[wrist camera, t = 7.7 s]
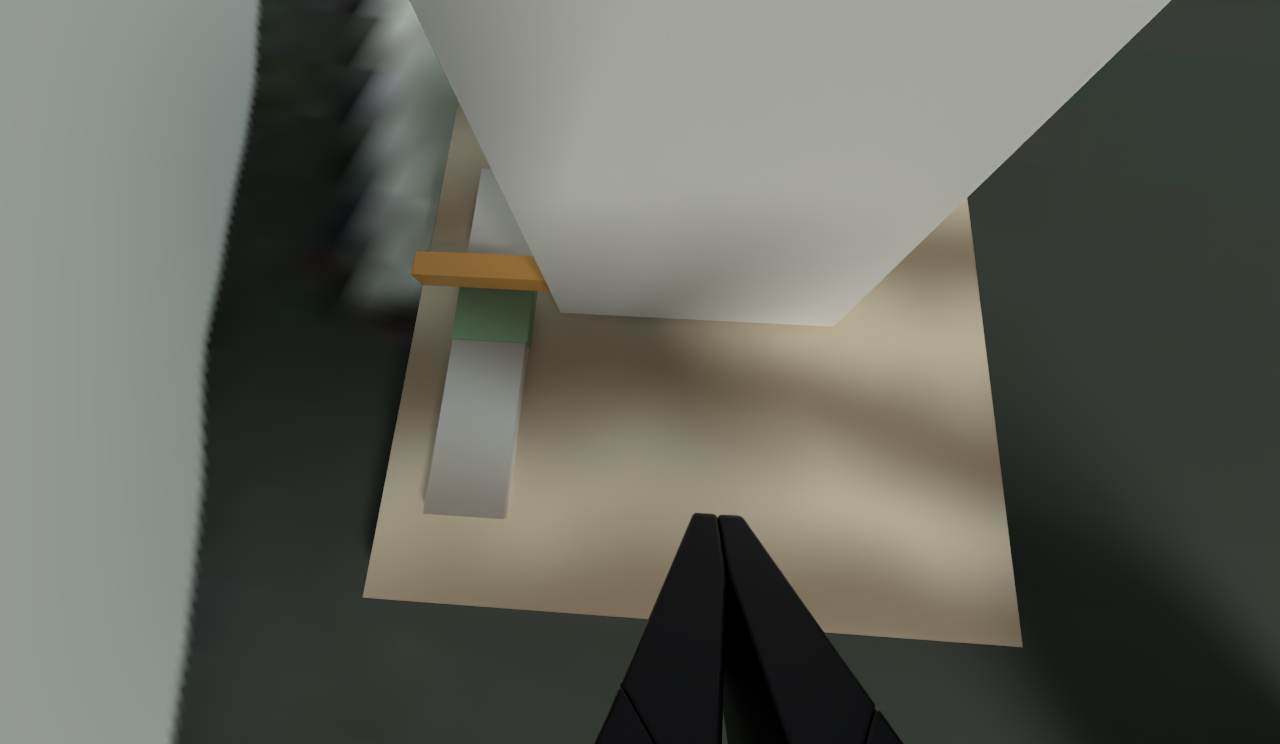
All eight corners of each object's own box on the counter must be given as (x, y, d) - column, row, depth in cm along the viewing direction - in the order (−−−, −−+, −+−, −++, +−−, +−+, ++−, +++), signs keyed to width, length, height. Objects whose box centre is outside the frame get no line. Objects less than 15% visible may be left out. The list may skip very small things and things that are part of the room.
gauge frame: (987, 633, 15) (2303, 1150, 3) (389, 588, 16) (-443, 863, 4) (918, -9, 22) (1249, -643, 10) (498, -18, 23) (321, -618, 10)
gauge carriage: (833, 326, 16) (1195, -25, 5) (431, 306, 16) (31, -49, 6) (827, 178, 17) (1102, -330, 7) (458, 164, 18) (174, -328, 7)
